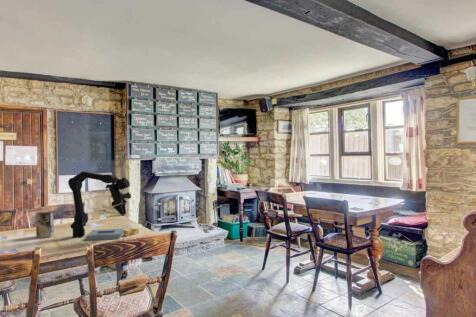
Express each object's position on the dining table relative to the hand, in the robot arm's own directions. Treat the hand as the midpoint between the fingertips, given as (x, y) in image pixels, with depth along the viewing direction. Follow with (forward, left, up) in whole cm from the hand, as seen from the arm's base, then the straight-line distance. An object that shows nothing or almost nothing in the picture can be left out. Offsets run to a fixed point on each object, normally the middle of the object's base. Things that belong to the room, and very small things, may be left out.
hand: (123, 214), depth 209 cm
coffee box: (-53, +16, -16) cm, 57 cm away
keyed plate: (-13, +7, -15) cm, 21 cm away
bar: (+3, +9, -16) cm, 18 cm away
